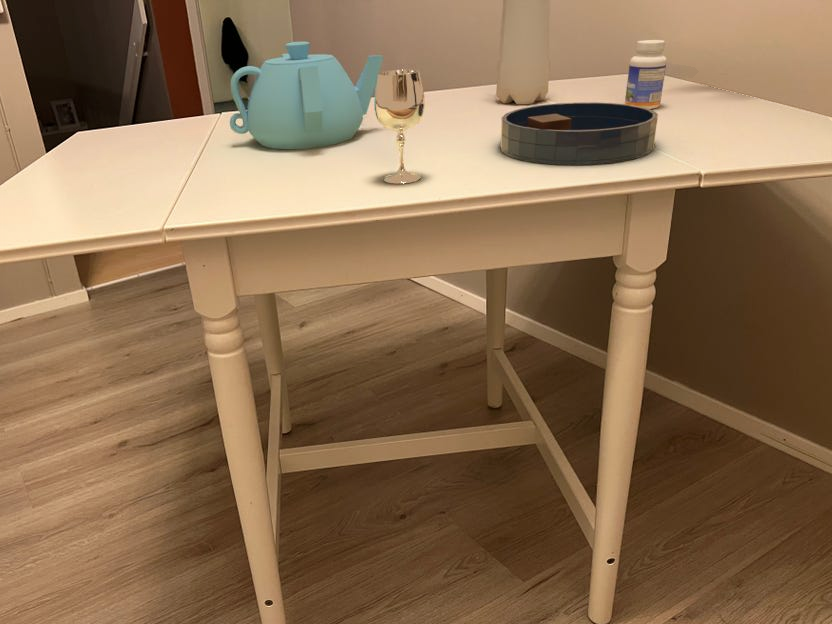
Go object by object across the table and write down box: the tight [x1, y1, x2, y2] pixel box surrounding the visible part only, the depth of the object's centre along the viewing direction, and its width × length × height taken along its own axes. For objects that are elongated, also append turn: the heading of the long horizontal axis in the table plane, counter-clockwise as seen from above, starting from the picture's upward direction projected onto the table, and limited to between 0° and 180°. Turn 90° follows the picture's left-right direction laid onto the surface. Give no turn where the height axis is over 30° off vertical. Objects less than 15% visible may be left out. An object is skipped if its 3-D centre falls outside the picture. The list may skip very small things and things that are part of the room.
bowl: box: [500, 101, 659, 166], centre depth 92 cm, size 19×19×4 cm
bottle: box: [495, 0, 551, 105], centre depth 119 cm, size 9×9×30 cm
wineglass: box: [374, 68, 426, 185], centre depth 82 cm, size 6×6×12 cm
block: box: [527, 114, 572, 130], centre depth 90 cm, size 4×4×4 cm
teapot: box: [229, 41, 384, 150], centre depth 107 cm, size 19×19×14 cm
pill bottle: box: [624, 39, 668, 110], centre depth 111 cm, size 5×5×10 cm
